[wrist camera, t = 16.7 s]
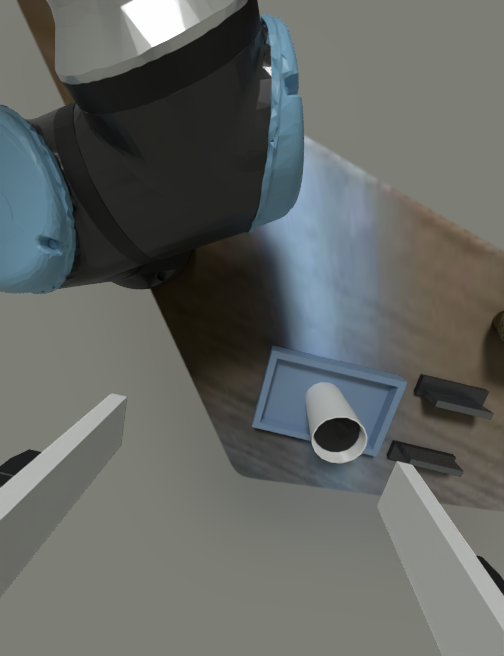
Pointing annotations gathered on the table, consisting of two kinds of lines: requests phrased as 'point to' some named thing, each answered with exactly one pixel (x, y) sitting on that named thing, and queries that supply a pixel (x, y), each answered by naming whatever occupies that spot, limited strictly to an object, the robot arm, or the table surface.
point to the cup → (499, 324)
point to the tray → (306, 370)
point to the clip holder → (446, 398)
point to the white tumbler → (333, 424)
